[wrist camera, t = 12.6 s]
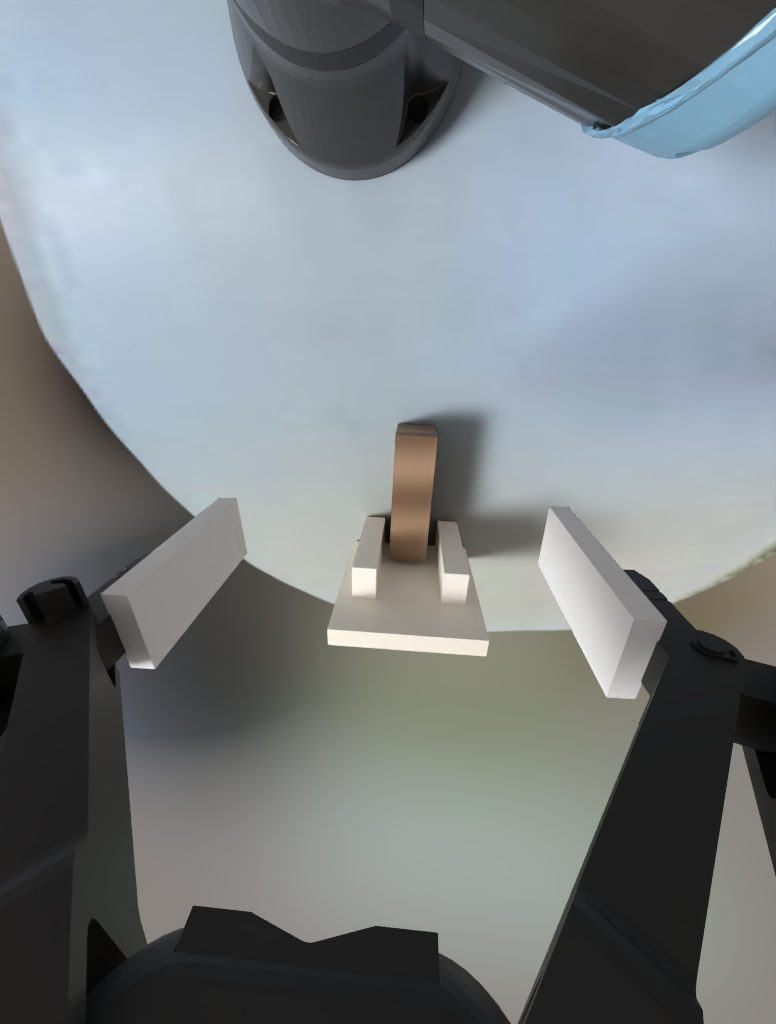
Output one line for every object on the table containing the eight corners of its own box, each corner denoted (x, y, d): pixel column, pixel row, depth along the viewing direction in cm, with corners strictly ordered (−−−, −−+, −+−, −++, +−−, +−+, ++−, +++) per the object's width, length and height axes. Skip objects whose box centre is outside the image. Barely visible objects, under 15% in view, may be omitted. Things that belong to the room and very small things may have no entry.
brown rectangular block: (424, 537, 40) (425, 561, 36) (392, 535, 40) (389, 558, 36) (435, 425, 35) (437, 437, 31) (398, 423, 35) (395, 434, 31)
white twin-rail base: (354, 516, 39) (325, 596, 27) (468, 522, 39) (495, 607, 26) (354, 552, 41) (327, 644, 28) (463, 559, 41) (486, 656, 28)
